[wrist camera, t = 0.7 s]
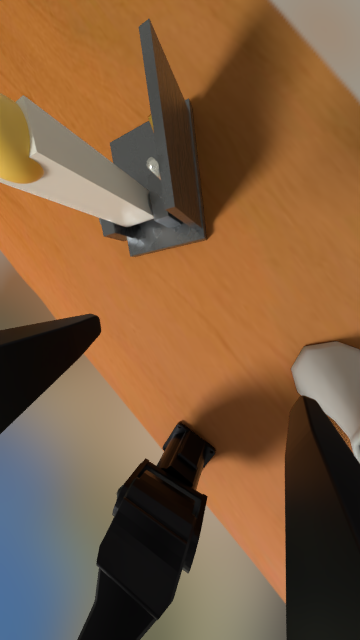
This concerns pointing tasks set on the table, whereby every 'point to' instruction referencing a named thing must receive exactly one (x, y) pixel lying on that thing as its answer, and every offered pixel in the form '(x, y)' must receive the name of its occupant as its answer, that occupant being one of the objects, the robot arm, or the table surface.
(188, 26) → the table surface
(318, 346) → the flask
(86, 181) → the selector lever
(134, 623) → the robot arm
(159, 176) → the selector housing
